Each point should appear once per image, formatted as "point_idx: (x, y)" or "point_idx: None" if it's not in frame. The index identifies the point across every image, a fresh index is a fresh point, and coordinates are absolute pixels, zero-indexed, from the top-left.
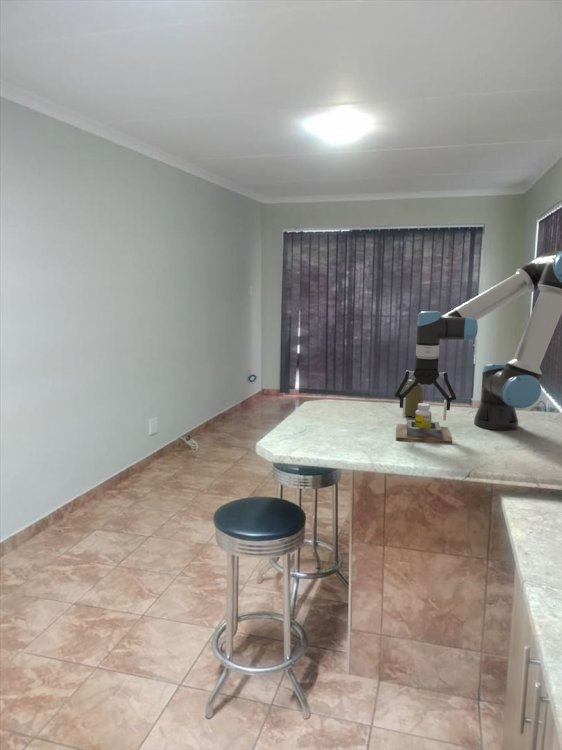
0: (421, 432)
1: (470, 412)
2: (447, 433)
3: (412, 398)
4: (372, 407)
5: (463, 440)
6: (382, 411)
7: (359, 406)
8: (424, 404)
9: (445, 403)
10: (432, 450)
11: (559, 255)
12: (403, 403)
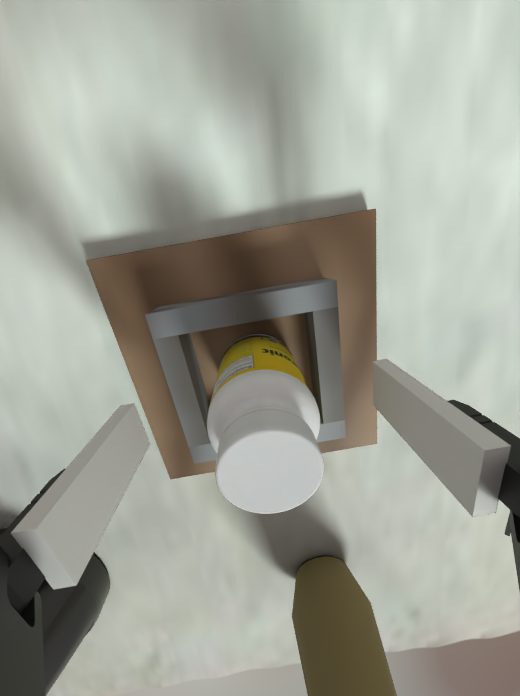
0: (252, 292)
1: (153, 656)
2: (146, 387)
3: (350, 657)
4: (451, 601)
5: (69, 347)
6: (420, 577)
7: (493, 596)
8: (264, 474)
9: (42, 509)
10: (155, 70)
11: None
12: (466, 416)
